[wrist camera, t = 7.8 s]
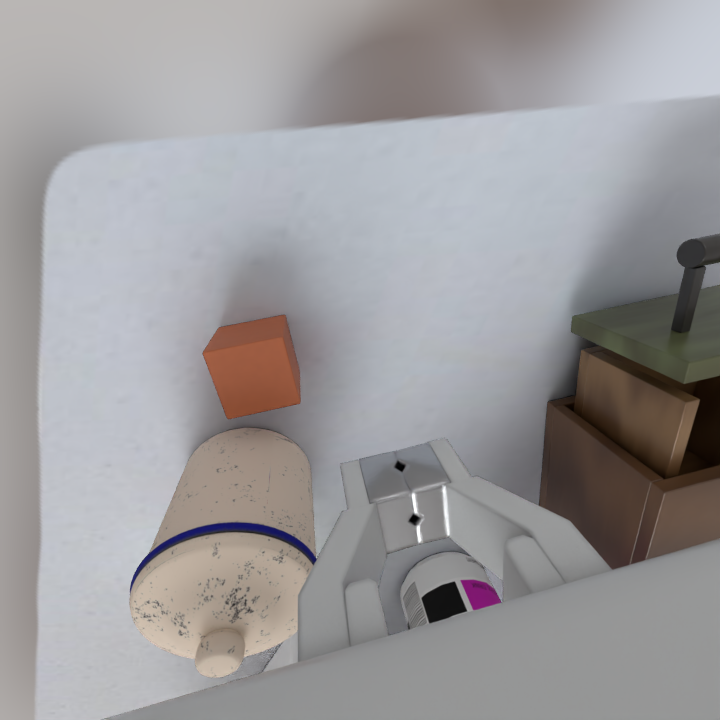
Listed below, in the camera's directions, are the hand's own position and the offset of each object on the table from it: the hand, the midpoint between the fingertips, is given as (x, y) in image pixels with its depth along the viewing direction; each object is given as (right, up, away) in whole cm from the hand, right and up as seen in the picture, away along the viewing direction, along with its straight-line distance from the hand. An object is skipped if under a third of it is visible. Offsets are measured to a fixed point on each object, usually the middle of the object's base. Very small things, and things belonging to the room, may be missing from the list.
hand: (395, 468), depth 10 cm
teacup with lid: (-8, -6, +16) cm, 19 cm away
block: (-7, +4, +12) cm, 14 cm away
